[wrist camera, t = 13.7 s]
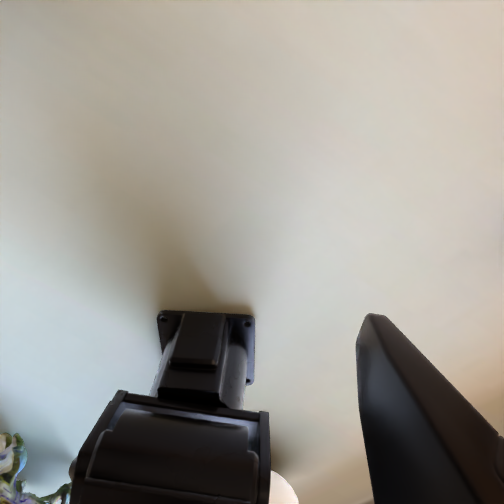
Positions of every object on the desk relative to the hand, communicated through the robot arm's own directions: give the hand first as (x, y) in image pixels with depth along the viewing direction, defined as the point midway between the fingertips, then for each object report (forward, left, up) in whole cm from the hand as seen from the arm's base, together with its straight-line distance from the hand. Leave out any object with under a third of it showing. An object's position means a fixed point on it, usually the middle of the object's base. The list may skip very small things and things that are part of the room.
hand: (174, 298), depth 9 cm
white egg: (-32, -3, -13) cm, 35 cm away
